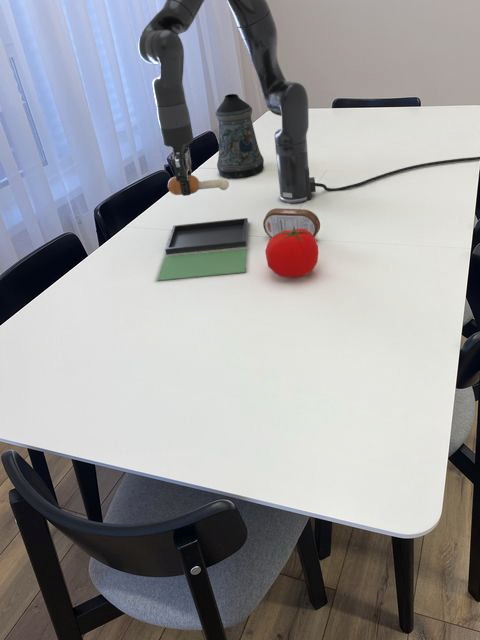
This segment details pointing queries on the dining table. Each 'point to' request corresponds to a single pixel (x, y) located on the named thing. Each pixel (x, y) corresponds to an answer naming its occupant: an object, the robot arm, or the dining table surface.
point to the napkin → (203, 264)
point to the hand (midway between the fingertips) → (187, 191)
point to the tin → (290, 221)
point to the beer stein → (237, 140)
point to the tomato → (292, 253)
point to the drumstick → (196, 185)
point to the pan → (208, 236)
